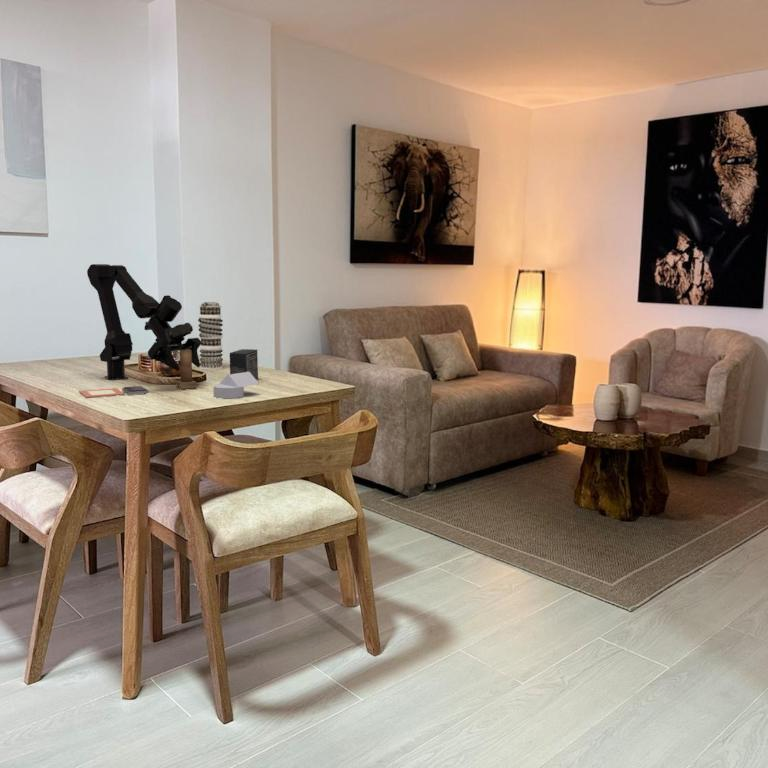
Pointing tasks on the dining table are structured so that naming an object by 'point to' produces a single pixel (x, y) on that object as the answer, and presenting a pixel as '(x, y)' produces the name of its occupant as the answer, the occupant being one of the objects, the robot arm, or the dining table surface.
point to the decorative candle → (210, 336)
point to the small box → (244, 362)
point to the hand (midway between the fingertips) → (189, 368)
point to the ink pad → (135, 390)
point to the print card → (101, 393)
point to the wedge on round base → (234, 385)
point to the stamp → (186, 371)
